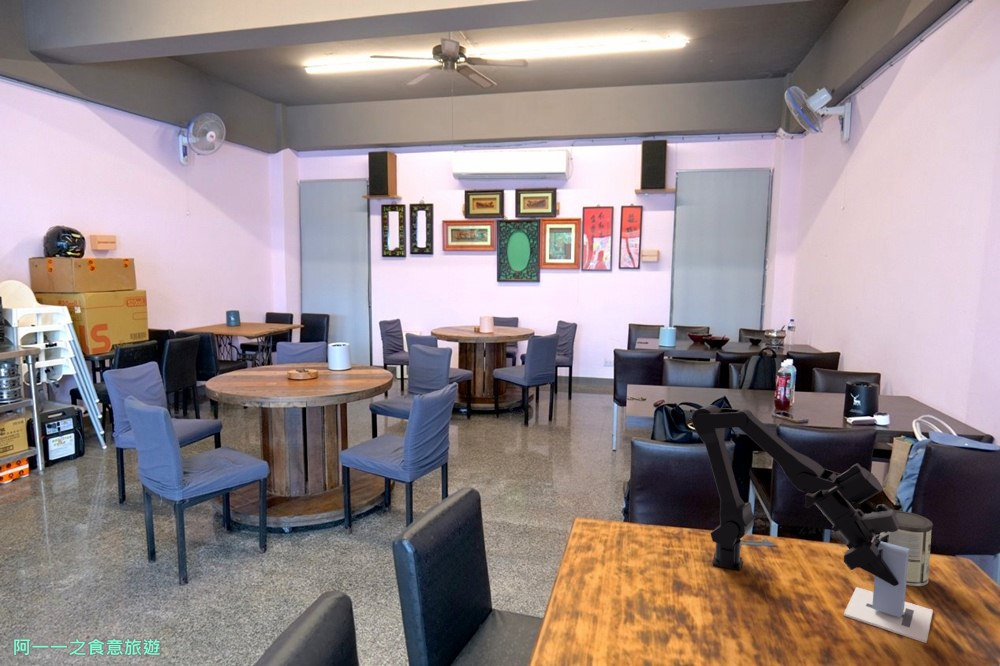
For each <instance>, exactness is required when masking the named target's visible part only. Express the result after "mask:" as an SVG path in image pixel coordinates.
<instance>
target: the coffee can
mask: <svg viewBox="0 0 1000 666" xmlns="http://www.w3.org/2000/svg"><path fill="white" fill-rule="evenodd" d="M893 511H894V512H896V513H897V515H896V517H897V519H898V522H899V524H900V526H899V527H898V530H897V531H895V532H887V533H885V532H882V533H880V534H878V535H881V536H882V537H884V536H886V535H889V542H888V543H889V544H893V545H897V546H901V547H905V548H909V558H908V569H907V581H906V586H910V587H923V586H927V585H928V583H929V574H930V573H929V571H930V558H931V556H930V555H931V545H932V543H931V542H932V540H931V539H932V529H933V526H934V523H933V522H932V520H930V519H928V518H927V517H925V516H922V515H919V514H917V513H914V512H910V511H903V510H897V509H893Z"/></svg>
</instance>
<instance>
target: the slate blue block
mask: <svg viewBox="0 0 1000 666" xmlns="http://www.w3.org/2000/svg"><path fill="white" fill-rule="evenodd" d="M877 549H878V551H879V550H881V549H883V560H884V562H885V563H886V565H887V566H888V567H889V569H890V570H891V572H892V573H893V575H894V576H895V578H896V579H897V581H898V583H899V584H898V585H896V586H893V585H891V584H889V583H888V582H886V581H884V580H882V579H880V578H879V577H877V576H875V575H874V581H873V582H874V583H873V591H872V592H873V605H872V609H875V610H878V611H881V612H884V613H887V614H890V615H893V616H896V617H899V618H901V616H902V613H903V610H904V605H905V602H906V594H907V593H906V591H907V585H906V581H907V569H908V558H909V548H905V547H901V546H897V545H893V544H889V543H886V542H882V541H881V542H880V544H879V546H878V548H877Z"/></svg>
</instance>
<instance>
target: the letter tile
mask: <svg viewBox="0 0 1000 666" xmlns="http://www.w3.org/2000/svg"><path fill="white" fill-rule="evenodd" d="M873 592H874V591H871V590H868V589H865V588H860V587H859V586H856V587H855V589H854V592H853V593H852V596H851V598H850V599H849V602H848V604H847V606H846V608H845V610H844V613H843V616H844V617H846V618H849V619H853V620H855V621H859V622H861V623H864V624H868V625H871V626H874V627H877V628H879V629H882V630H886V631H889V632H892V633H894V634H897V635H900V636H904V637H906V638H910V639H913V640H916V641H919V642H921V643H923V644H924V643H925V644H927V643H928V642H927V641H928V637H929V634H930V633H929V632H930V627H931V624H932V623H931V622H932V618H933V612H934V610H933V609H930V608H927V607H926V606H925V607H924V606H922V605H917V604H914V603H911V602H908V601H905V605H904V610H903V613H902V616H901V618H899V617H896V616H893V615H890V614H887V613H884V612H881V611H878V610H875V609H872V605H873Z"/></svg>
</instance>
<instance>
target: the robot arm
mask: <svg viewBox="0 0 1000 666" xmlns="http://www.w3.org/2000/svg"><path fill="white" fill-rule="evenodd" d="M691 423H692V426H693V427H694V430H695V432H696V434H697V436H698V437H699V438H700V440H701V441H702V442H703V444H704V445H705V449H706V452H707V456H708V459H709V463H710V466H711V470H712V474H713V477H714V482H715V484H716V489H717V493H718V496H719V500H720V504H719V505H720V508H719V521H720V522H719V523H720V524H719V525H718V526H717V527H716V528H715V529H713V530H712V532H710V537H711V539H712V542H714V543H715V551H714V555H713V558H712V562H711V563H712V564H711V565H713V566H715V567H716V566H717V567H721V568H725V569H731V570H736V571H741V570H742V563H743V558H742V557H741V543H742V542H741V539H742V538H744V537H745V536H746V535H747V534H748V533H749V532H750V531H751V529H753V527H754V520H756V516H755V515H754V513H753V509H752V508H753V507H752V504H751V502H750V501H749V502H744V500H743V499H742V497H741V495H740V492H739V489H738V485H737V481H736V479H735V478H736V477H735V474H734V471H733V467H732V464H731V461H730V457H729V453H728V450H727V446H726V443H725V433H726V428H727V429H728V428H737V429H740V430H741V432H743V433H745V435H746V436H747V437H749V439H751V440H752V441H753V442H754V443H755V444H757V446H758V447H760V448H761V449H762V450H763V451H764V452H765V453H766V454H767V455H769V456H770V457H771V458H772V459H773V460H774V461H775V462H776V463H777V464H778V465H779V466H780V467H781V469H782V471H783V473H784V475H785V476H786V478H787V479H788V481H790V483H791V484H792V485H793V486H794V487H795V488H796V489H797V490H798V491H800V492H802V493H806V494H805V495H804V497H805V503H804V507H805V508H806V509H808V508H810V507H812V506H813V505H815V506H816V507H817V508H818V509H819V510H820V511H821V513H822V514H823V516H824V517H826V519H827V520H828V521H829V522H830V523H831V525H832V527H831V529H832V531H833V532H834V533H836V532H838V533H839V534H840V535H841V536H842V538H843V539H845V541H846V542H847V543H846V544H845V545H846V547H847V550H846V552H845V553H844V554H843V563H844V564H845V566H847V568H848V569H849V571H853V570H855V569H859V568H860V569H861V570H863V571H866V572H867V573H870V574H871V575H873V576H874V577H875V576H877V577H879V578H880V579H882V580H884V581H886V582H888V583H889V584H891V585H893V586H896V585H898V584H899V583H898V581H897V579H896V578H895V576H894V575H893V573H892V572H891V570H890V569H889V567H888V566H887V565H886V563H885V562H884V560H883V549H881V550H879V551H878V549H877V548H878V546H879V544H880V542H881V541H882V542H886V543H888V542H889V535H886V536H884V537H882V536H881V535H879V534H880V533H882V532H885V533H887V532H895V531H897V530H898V527H899V526H900V524H899V522H898V519H897V517H896V515H897V513H896V512H894V511H893V510H894V509H893V508H890V507H889V506H888V505H886V504H885V503H882V504H877V505H876V507H875V511H871V512H870V513H865V512H863V510H862V509H859V508H857V509H855V508H854V507H853V506H852V504H856V505H860V504H861V503H863V502H866V501H867V500H868V499H870V498H872V497H874V496H876V495H877V494H879V493H880V492H882V491H883V489H884V487H883V485H882V484H881V482H880V481H879V480H878V478H877V477H876V475H874V474H873V473H872V472H870V471H869V470H868V469H866V468H865V467H863V466H861V464H860V463H858V462H857V463H855V464H853V465H852V466H851V467H850V468H849V469H847V470H846V471H844V472H843V473H842V472H841V473H839V472H836V471H832V470H831V469H827V468H824V467H823V466H822V465H821V464H820V463H818V462H817V461H815V460H814V459H812V458H810V457H808V456H807V455H805V454H802V453H800V452H799V451H796V450H794V449H793V448H792V447H791V446H789V445H788V444H787V443H786V442H785V441H783V439H781V438H780V437H779V436H778V435H777V434H776V433H774V432H773V430H771V429H770V428H769V427H768V426H766V425H765V424H764V423H763V422H762V421H761V420H760V419H758V418H757V416H755V414H754V413H752V411H750V410H749V409H746V408H741V409H739V408H738V409H737V408H736V409H735V408H725V407H724V408H723V407H722V408H720V407H719V406H717V405H715V404H708V405H705V406H702V407H701V408H698V409H696V410H695V411H694V412H693V414H692V415H691ZM817 490H818V491H817ZM813 492H815V493H813Z"/></svg>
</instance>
